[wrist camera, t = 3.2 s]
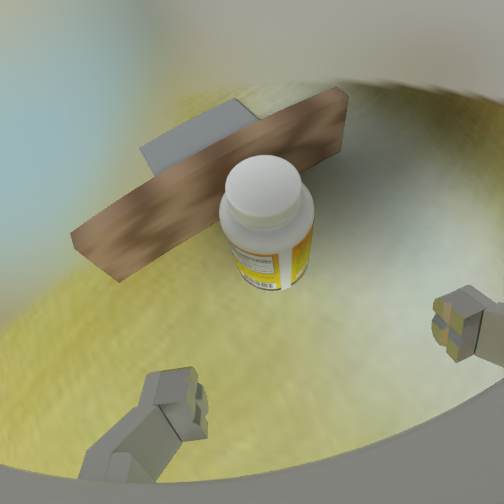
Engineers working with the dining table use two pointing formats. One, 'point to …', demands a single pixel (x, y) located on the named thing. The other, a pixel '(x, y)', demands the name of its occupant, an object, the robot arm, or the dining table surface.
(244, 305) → the dining table surface
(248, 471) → the dining table surface
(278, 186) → the supplement bottle
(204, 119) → the grey mat
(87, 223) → the walnut screen
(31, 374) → the dining table surface
